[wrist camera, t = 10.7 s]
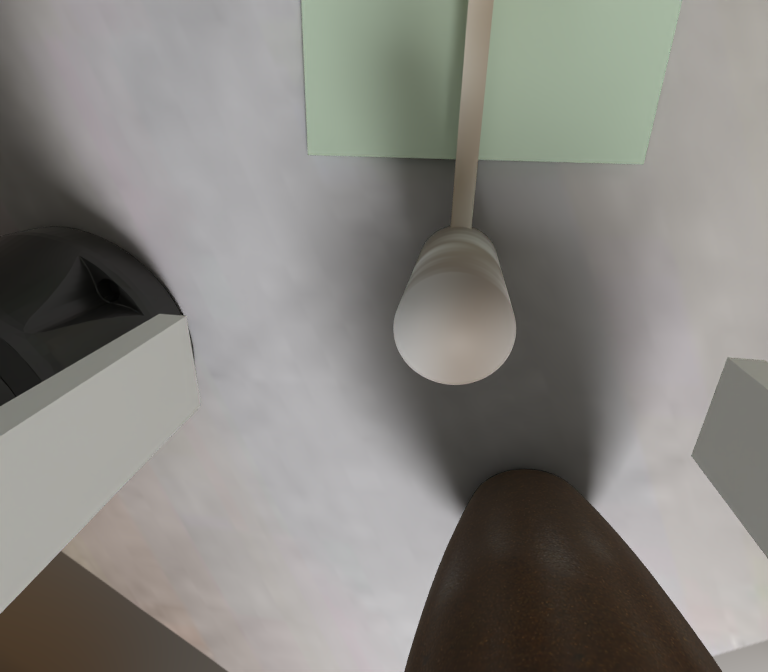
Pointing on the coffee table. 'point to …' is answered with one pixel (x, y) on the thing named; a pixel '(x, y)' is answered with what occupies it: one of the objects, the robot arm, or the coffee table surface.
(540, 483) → the plant pot
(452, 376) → the tethered block
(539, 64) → the mat
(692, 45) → the coffee table surface
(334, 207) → the coffee table surface
